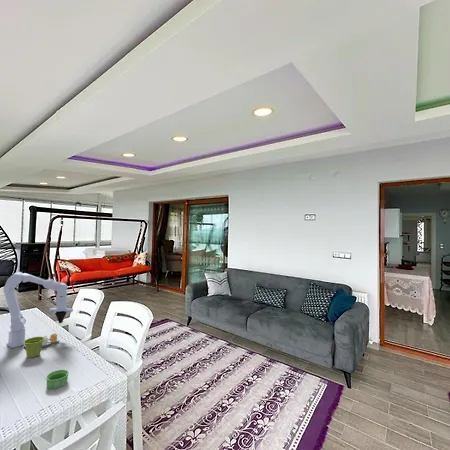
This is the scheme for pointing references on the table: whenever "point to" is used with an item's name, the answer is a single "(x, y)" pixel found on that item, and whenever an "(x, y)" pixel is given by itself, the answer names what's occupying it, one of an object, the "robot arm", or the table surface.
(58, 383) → the ramekin
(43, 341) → the white breaker
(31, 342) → the plant pot
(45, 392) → the table surface
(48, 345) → the panel
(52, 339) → the breaker orange
